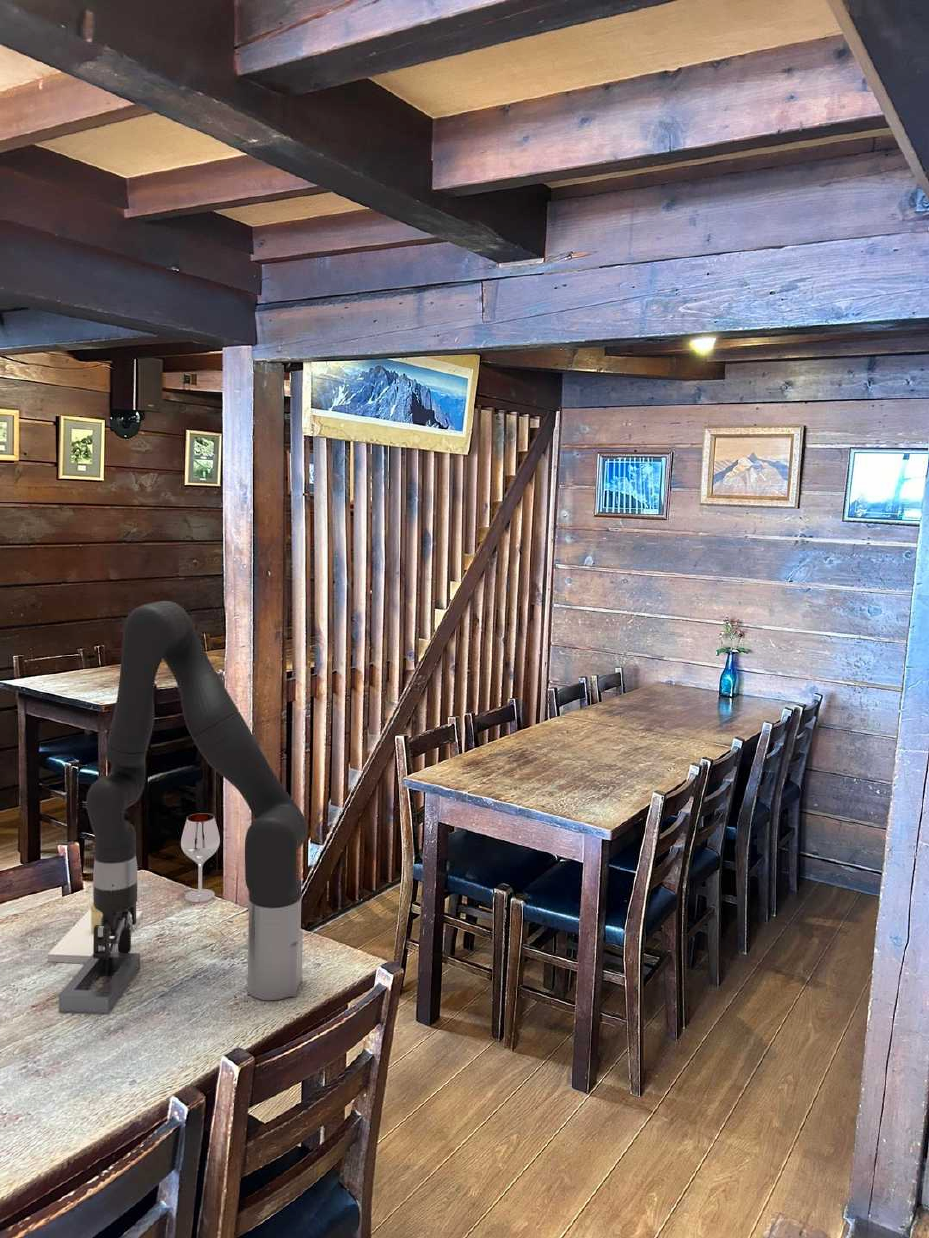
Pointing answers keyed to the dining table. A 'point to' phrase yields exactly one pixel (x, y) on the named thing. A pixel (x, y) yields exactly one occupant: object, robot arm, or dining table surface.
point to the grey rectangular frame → (103, 1001)
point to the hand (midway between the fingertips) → (115, 963)
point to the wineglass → (200, 848)
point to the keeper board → (82, 939)
